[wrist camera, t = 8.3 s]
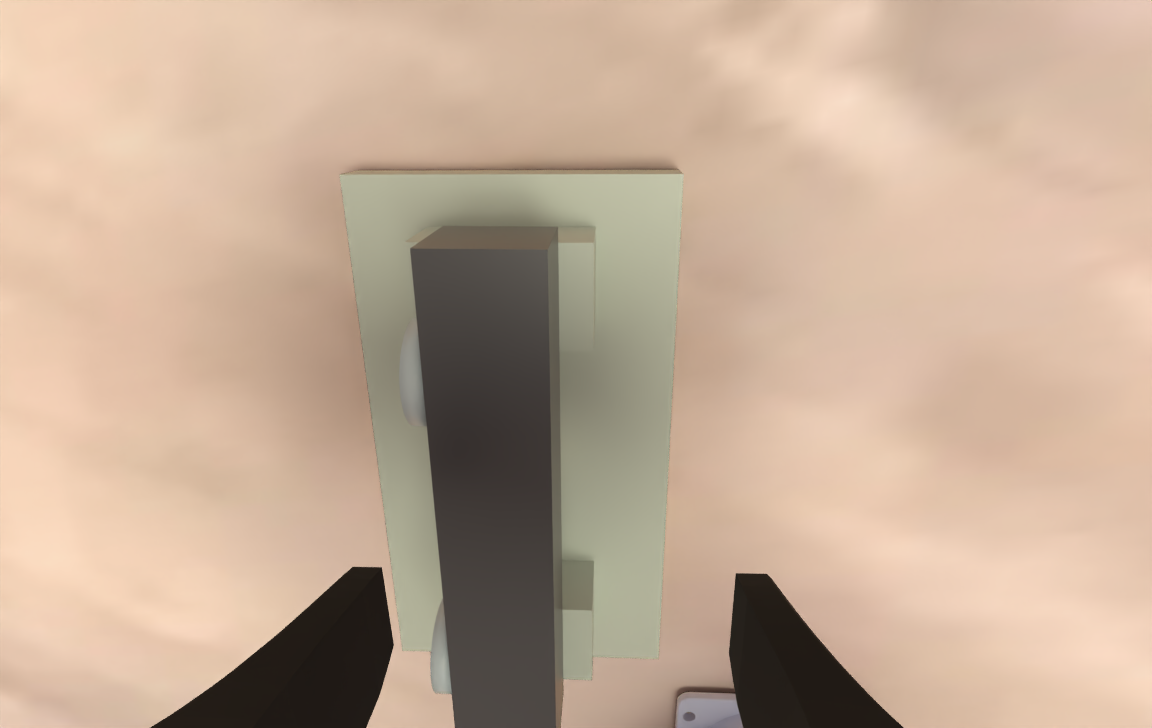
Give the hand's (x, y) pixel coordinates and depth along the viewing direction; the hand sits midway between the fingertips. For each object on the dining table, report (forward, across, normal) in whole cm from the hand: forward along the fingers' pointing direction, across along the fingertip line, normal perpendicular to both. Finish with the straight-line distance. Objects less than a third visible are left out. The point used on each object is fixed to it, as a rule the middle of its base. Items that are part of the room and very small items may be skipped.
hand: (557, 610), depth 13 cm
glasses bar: (+6, +2, +1) cm, 7 cm away
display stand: (+10, +2, +1) cm, 11 cm away
